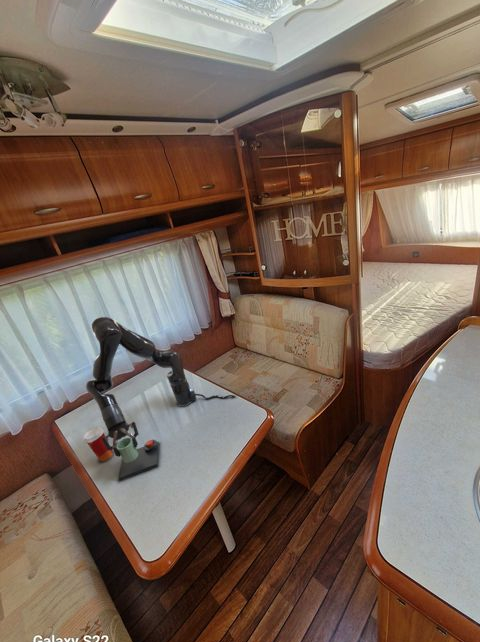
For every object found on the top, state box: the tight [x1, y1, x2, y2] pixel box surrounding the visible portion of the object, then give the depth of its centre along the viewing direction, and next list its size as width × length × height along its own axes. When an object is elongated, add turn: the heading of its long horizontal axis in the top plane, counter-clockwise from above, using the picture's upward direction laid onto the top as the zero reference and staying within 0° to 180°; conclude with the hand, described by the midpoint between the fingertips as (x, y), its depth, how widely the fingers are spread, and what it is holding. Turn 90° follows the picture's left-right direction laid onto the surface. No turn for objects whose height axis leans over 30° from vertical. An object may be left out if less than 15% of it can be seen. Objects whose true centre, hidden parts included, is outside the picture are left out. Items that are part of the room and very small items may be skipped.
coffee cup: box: [83, 427, 114, 462], centre depth 126 cm, size 8×8×15 cm
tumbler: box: [116, 437, 139, 463], centre depth 117 cm, size 6×6×8 cm
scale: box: [117, 439, 160, 482], centre depth 122 cm, size 16×14×4 cm
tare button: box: [145, 439, 154, 448], centre depth 126 cm, size 3×3×2 cm
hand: (127, 451), depth 115 cm, fingers closed on tumbler, 6 cm apart
